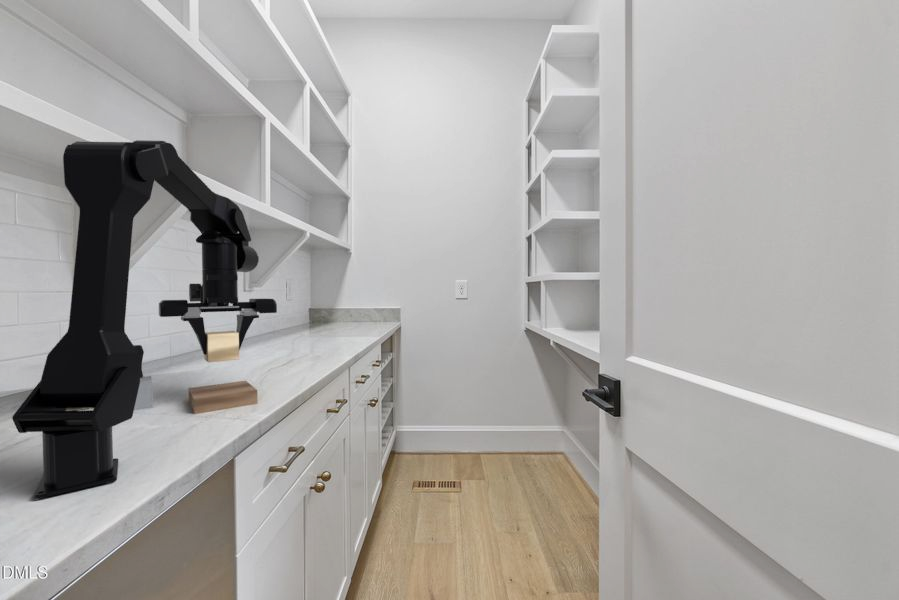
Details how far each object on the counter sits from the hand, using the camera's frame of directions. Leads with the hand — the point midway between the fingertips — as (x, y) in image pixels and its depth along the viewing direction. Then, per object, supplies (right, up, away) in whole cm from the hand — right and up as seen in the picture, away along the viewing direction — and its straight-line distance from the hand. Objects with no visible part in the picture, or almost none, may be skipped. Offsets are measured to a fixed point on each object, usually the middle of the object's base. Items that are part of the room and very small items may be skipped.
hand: (221, 352), depth 75 cm
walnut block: (0, -10, 0) cm, 10 cm away
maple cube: (0, -1, 0) cm, 1 cm away
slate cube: (-15, -10, -2) cm, 18 cm away
